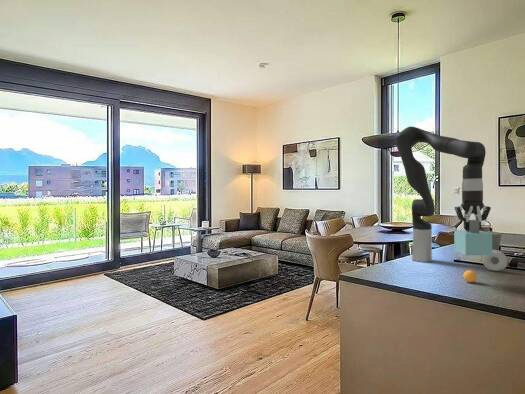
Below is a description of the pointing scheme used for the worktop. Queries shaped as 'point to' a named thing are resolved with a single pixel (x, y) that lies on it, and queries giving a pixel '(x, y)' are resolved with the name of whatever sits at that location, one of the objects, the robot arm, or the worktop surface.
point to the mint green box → (473, 240)
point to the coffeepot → (494, 244)
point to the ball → (470, 276)
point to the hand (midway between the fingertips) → (472, 230)
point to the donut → (499, 265)
